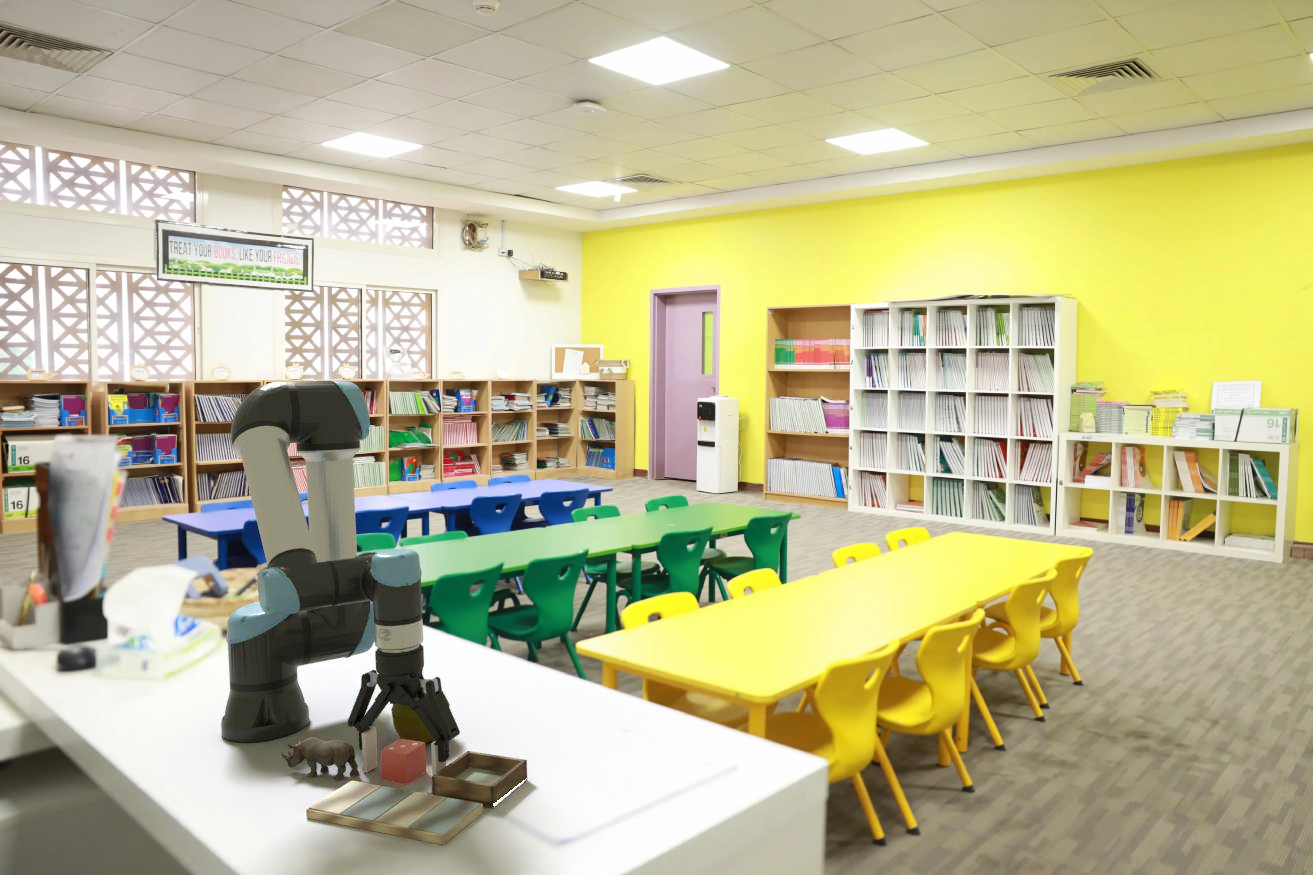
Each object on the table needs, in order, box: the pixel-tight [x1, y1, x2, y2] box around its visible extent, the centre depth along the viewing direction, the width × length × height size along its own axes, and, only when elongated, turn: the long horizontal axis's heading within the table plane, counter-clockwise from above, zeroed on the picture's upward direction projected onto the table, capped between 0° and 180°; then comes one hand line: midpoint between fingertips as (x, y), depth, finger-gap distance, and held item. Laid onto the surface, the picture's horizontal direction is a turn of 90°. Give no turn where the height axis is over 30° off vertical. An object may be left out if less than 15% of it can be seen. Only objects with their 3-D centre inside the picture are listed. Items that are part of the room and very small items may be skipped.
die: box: [380, 738, 427, 785], centre depth 144 cm, size 5×5×5 cm
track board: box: [305, 780, 484, 846], centre depth 131 cm, size 24×10×1 cm, turn 69°
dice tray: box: [431, 750, 528, 809], centre depth 139 cm, size 11×10×3 cm
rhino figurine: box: [280, 736, 360, 782], centre depth 146 cm, size 4×14×6 cm, turn 76°
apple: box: [391, 688, 451, 744], centre depth 158 cm, size 10×10×11 cm
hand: (404, 774), depth 144 cm, fingers open, 13 cm apart
